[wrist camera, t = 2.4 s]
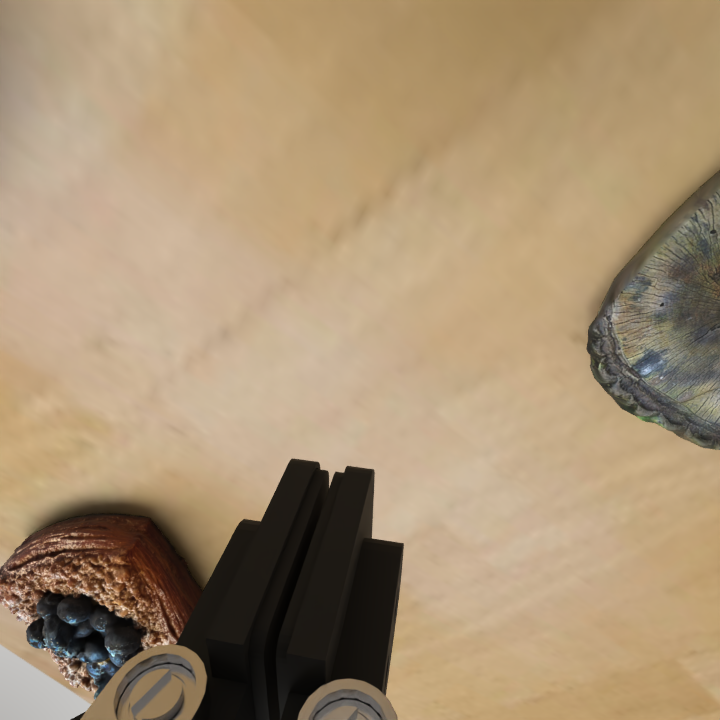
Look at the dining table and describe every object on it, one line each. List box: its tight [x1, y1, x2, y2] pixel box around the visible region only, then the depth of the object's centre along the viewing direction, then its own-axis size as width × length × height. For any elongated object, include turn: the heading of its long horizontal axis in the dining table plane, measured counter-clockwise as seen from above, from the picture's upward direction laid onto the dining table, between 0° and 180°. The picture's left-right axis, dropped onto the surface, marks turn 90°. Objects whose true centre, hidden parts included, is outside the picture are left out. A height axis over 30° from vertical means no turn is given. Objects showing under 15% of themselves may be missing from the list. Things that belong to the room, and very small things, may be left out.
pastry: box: [0, 514, 203, 699], centre depth 31 cm, size 11×12×6 cm
